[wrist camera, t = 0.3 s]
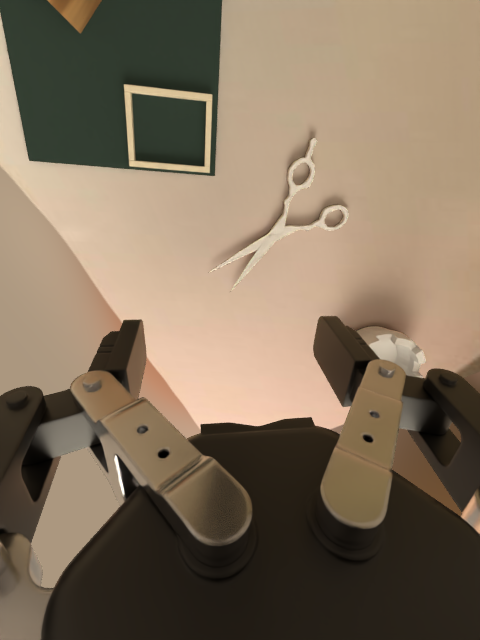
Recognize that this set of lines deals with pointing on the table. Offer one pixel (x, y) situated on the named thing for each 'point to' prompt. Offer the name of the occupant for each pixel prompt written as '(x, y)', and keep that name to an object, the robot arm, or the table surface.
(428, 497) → the robot arm
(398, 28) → the table surface
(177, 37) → the mat
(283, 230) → the scissors
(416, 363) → the flag stand
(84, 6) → the box
